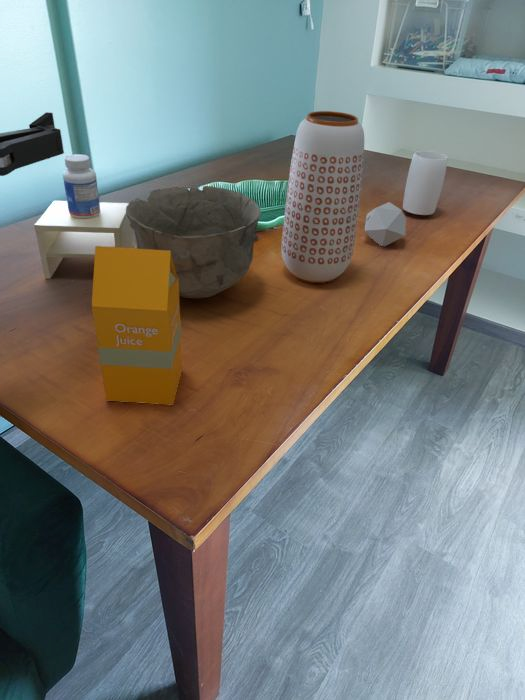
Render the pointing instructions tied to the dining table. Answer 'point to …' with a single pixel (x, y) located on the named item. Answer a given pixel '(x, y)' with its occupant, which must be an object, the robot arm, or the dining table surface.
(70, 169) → the pill bottle
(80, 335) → the dining table surface
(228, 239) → the bowl
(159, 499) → the dining table surface
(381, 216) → the die
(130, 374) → the orange juice
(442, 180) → the cup
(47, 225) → the shelf
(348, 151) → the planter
